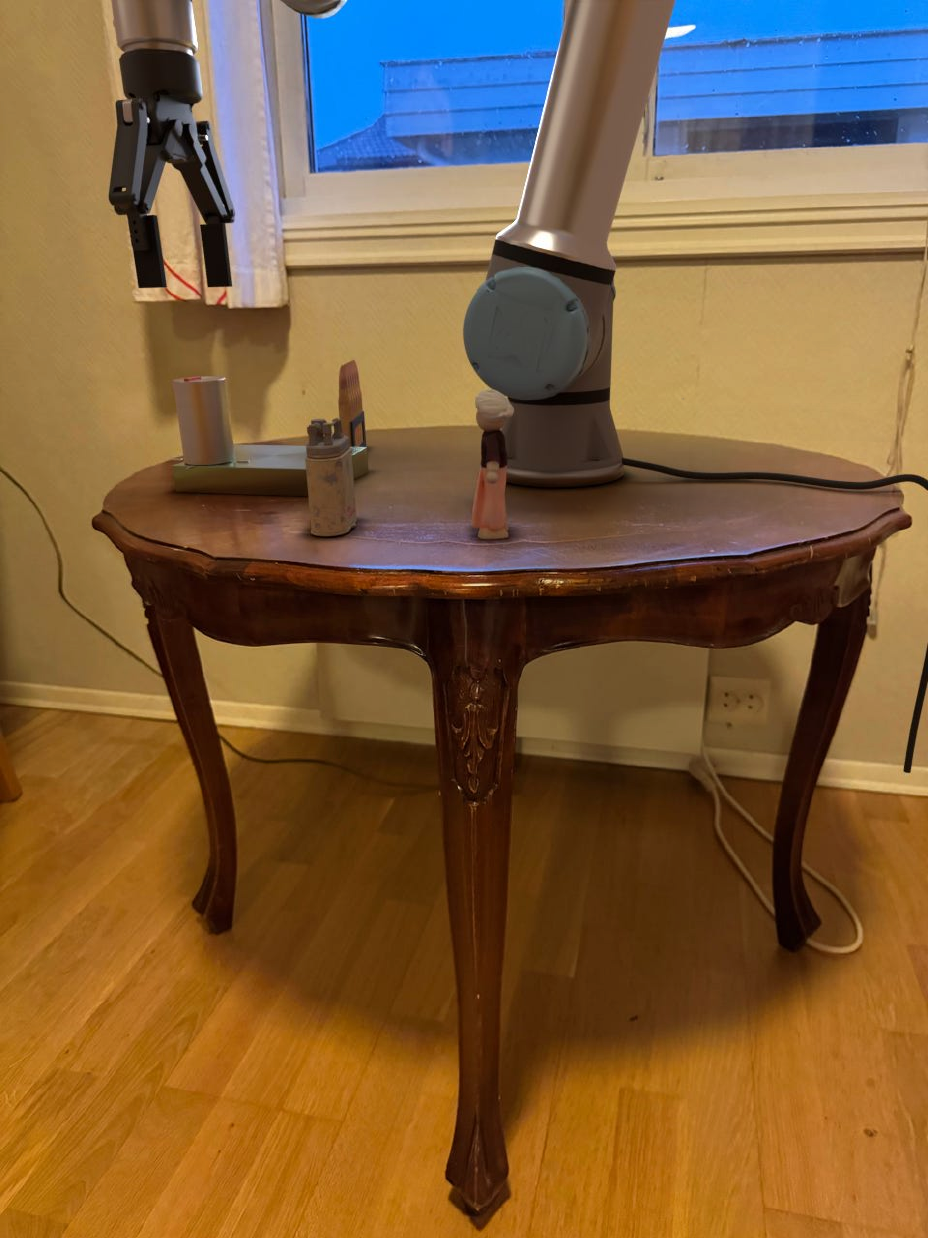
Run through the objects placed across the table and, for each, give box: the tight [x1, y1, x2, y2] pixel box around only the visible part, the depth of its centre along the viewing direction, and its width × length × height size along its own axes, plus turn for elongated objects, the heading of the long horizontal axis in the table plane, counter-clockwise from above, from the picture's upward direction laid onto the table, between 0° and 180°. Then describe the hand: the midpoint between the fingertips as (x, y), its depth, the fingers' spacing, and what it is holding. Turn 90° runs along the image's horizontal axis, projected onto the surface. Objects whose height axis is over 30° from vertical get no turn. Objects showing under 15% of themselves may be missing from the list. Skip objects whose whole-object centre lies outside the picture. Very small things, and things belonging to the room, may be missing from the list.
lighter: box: [305, 417, 358, 537], centre depth 80 cm, size 7×4×10 cm, turn 176°
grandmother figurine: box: [470, 388, 514, 540], centre depth 76 cm, size 8×4×13 cm, turn 5°
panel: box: [169, 443, 370, 498], centre depth 102 cm, size 20×16×3 cm
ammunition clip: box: [337, 359, 368, 448], centre depth 116 cm, size 11×2×12 cm, turn 178°
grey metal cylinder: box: [172, 375, 235, 465], centre depth 98 cm, size 6×6×9 cm
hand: (188, 287), depth 93 cm, fingers open, 13 cm apart
